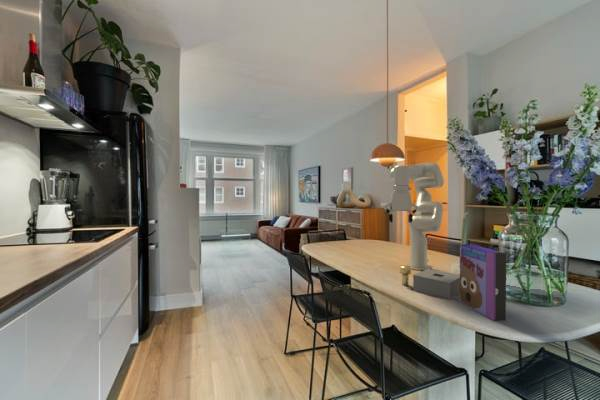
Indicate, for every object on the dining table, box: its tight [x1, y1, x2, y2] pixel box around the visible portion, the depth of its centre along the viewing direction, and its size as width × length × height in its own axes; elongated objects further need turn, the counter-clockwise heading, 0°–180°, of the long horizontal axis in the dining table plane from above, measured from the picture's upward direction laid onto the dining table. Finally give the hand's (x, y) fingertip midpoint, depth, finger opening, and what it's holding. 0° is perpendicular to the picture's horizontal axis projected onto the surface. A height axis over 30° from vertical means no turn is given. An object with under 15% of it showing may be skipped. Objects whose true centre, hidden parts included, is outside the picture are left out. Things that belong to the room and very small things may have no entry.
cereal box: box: [459, 243, 507, 322], centre depth 105 cm, size 17×5×24 cm, turn 5°
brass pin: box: [399, 265, 412, 287], centre depth 135 cm, size 5×5×9 cm
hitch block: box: [412, 268, 460, 300], centre depth 127 cm, size 16×16×7 cm
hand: (400, 222), depth 142 cm, fingers open, 9 cm apart
